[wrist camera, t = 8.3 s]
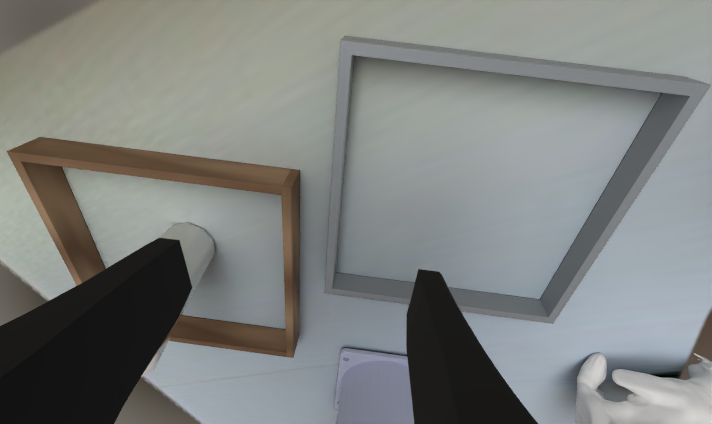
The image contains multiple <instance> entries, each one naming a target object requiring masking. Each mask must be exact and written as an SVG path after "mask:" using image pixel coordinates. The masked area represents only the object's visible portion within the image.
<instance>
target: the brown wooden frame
mask: <svg viewBox="0 0 712 424" xmlns="http://www.w3.org/2000/svg"><path fill="white" fill-rule="evenodd" d="M7 153H8V155H9V156H10V158H11V160H12V162H13V164H14V166H15V168H16V170H17V172H18V174H19V176H20V178H21V180H22V181H23V183H24V185H25V187H26V189H27V191H28V193H29V195H30V197H31V199H32V201H33V203H34V204H35V206H36V208H37V210H38V212H39V214H40V216H41V218H42V220H43V222H44V224H45V226H46V227H47V229H48V231H49V233H50V235H51V237H52V239H53V241H54V243H55V245H56V247H57V249H58V250H59V252H60V254H61V256H62V258H63V260H64V262H65V264H66V266H67V268H68V270H69V272H70V273H71V275H72V277H73V279H74V281H75V283H76V285H77V286H78V285H79V284H81V283H83V282H85V281H86V280H88V279H90V278H91V277H93V276H95V275H97V274H98V273H100V272H102V271H103V270H105V267H104V264H103V262H102V260H101V258H100V255H99V253H98V251H97V248H96V246H95V244H94V242H93V239H92V237H91V235H90V232H89V230H88V228H87V226H86V223H85V221H84V219H83V216H82V214H81V212H80V209H79V207H78V205H77V203H76V200H75V198H74V196H73V193H72V191H71V189H70V187H69V184H68V182H67V180H66V177H65V175H64V173H63V171H62V168H61V167H69V168H77V169H84V170H92V171H100V172H108V173H115V174H123V175H131V176H139V177H146V178H154V179H162V180H170V181H177V182H185V183H193V184H201V185H208V186H216V187H224V188H232V189H240V190H247V191H255V192H263V193H271V194H278V195H282V218H283V251H284V283H285V315H286V330H285V329H277V328H270V327H263V326H255V325H248V324H240V323H233V322H226V321H218V320H211V319H204V318H196V317H189V316H182V315H181V317H180V319H179V321H178V323H177V325H176V327H175V329H174V331H173V333H172V335H171V337H170V339H169V341H175V342H182V343H189V344H197V345H204V346H211V347H218V348H226V349H233V350H240V351H247V352H255V353H262V354H269V355H277V356H284V357H291V358H293V357H294V353H295V349H296V346H297V342H298V338H299V258H300V170H293V169H285V168H278V167H270V166H262V165H254V164H246V163H238V162H231V161H223V160H215V159H207V158H199V157H191V156H184V155H176V154H168V153H160V152H152V151H144V150H136V149H129V148H121V147H113V146H105V145H97V144H89V143H82V142H74V141H66V140H58V139H50V138H42V137H39V138H37V139H34V140H32V141H30V142H27V143H25V144H23V145H20V146H18V147H16V148H13V149H11V150H9V151H7Z"/></svg>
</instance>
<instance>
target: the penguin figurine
mask: <svg viewBox="0 0 712 424" xmlns="http://www.w3.org/2000/svg"><path fill="white" fill-rule="evenodd" d="M695 355H696V354H695ZM696 356H698V357H699V358H701V359H702V362H699V363H698V364H691V365H689V366H688V373H689V375H690V377H691V378H690V379H687V380H681V379H676V378H661V377H657V376H653V375H650V374H645V373H640V372H635V371H630V370H624V369H617V370H614V371H613V372H612V378H613V380H614V382H615V383H616V384H618V385H620V386H623V387H625V388H627V389H629V390H630V391H632V392H634V393H632V394H629V395H628V396H627V399H626V401H622V402H613V401H609V400H605V395H604V393H603V392H602V390H600V389H599V388H597V387H598V386H599V385H600V384H601V383H602V382H603V381H604V380H605V378H606V374H607V364H606V359H605V357H604V356H603V355H602V354H600V353H594V354H592V355H591V356H589V358H588V359H587V360H586V361H585V363H584V364H583V365H582V367H581V369H580V372H579V374H578V377H577V400H576V409H575V412H576V424H712V362H710V361H709V360H706V359H707V358H706V359H704V358H703V357H701V356H699V355H696Z"/></svg>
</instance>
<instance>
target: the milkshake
mask: <svg viewBox="0 0 712 424" xmlns="http://www.w3.org/2000/svg"><path fill="white" fill-rule="evenodd" d="M159 238H167V239H175V240H180V244H181V247H182V251H183V255H184V258H185V262H186V266H187V270H188V273H189V277H190V281H191V284H192V290H191V292H190V294H189V297H188V299H187V301H186V303H185V305H184V307H183V309H182V311H181V314H180V316H179V318H178V319H177V321H176V323H175V324H174V326H173V327H172V329H171V331H170V332H169V334H168V335H167V337H166V339H165V340H164V342H163V343H162V345H161V346H160V348H159V350H158V351H157V353H156V354H155V356H154V357H153V359H152V360H151V362H150V364H149V365H148V367H147V368H146V370H145V371H144V373H143V374H142V376H144V375H146V374H148V373H149V372H151V371H152V370H153V369H154V368H155V367H156V365H157V364H158V361H159V359H160V357H161V355H162V353H163V351H164V349H165V347H166V345H167V343H168V341H169V339H170V337H171V335H172V333H173V331H174V329H175V327H176V325H177V323H178V321H179V319H180V317H181V315H182V313H183V311H184V309H185V307H186V305H187V304H188V302H189V300H190V298H191V296H192V294H193V292H194V291H195V289H196V287H197V285H198V283H199V281H200V279H201V277H202V276H203V274H204V272H205V270H206V268H207V266H208V264H209V263H210V261H211V259H212V257H213V255H214V253H215V247H214V240H213V239H212V238H211V237H210V236H209V234H208V233H207V232H206V231H205V230H204V229H203V228H200V227H197V226H195V225H192V224H190V223H181V224H174V225H172V226H171V227H170V228H169V229H168V230H167V231H166V232H164V233H163V234H162V235H161V236H160V237H159ZM142 376H141V377H142Z"/></svg>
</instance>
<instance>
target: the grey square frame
mask: <svg viewBox="0 0 712 424" xmlns="http://www.w3.org/2000/svg"><path fill="white" fill-rule="evenodd" d="M354 55H355V56H364V57H372V58H380V59H388V60H397V61H405V62H413V63H421V64H430V65H438V66H446V67H454V68H463V69H471V70H479V71H487V72H496V73H504V74H512V75H520V76H529V77H537V78H545V79H553V80H562V81H570V82H578V83H587V84H595V85H603V86H611V87H620V88H628V89H636V90H644V91H653V92H661V93H662V94H661V96H660V98H659V99H658V101H657V103H656V104H655V106H654V108H653V110H652V111H651V113H650V115H649V116H648V118H647V120H646V121H645V123H644V125H643V126H642V128H641V130H640V131H639V133H638V135H637V137H636V138H635V140H634V142H633V143H632V145H631V147H630V148H629V150H628V152H627V153H626V155H625V157H624V159H623V160H622V162H621V164H620V165H619V167H618V169H617V170H616V172H615V174H614V175H613V177H612V179H611V180H610V182H609V184H608V186H607V187H606V189H605V191H604V192H603V194H602V196H601V197H600V199H599V201H598V202H597V204H596V206H595V208H594V209H593V211H592V213H591V214H590V216H589V218H588V219H587V221H586V223H585V224H584V226H583V228H582V230H581V231H580V233H579V235H578V236H577V238H576V240H575V241H574V243H573V245H572V246H571V248H570V250H569V251H568V253H567V255H566V257H565V258H564V260H563V262H562V263H561V265H560V267H559V268H558V270H557V272H556V273H555V275H554V277H553V279H552V280H551V282H550V284H549V285H548V287H547V289H546V290H545V292H544V294H543V295H542V297H541V299H540V300H539V299H531V298H524V297H516V296H509V295H501V294H494V293H486V292H478V291H471V290H463V289H456V288H449V290H450V292H451V294H452V296H453V298H454V300H455V302H456V304H457V305H458V307H459V309H460V311H462V312H470V313H477V314H485V315H492V316H500V317H507V318H515V319H522V320H530V321H537V322H544V323H552V324H553V323H554V321H555V320H556V318H557V317H558V315H559V314H560V312H561V311H562V309H563V308H564V306H565V305H566V303H567V302H568V300H569V299H570V297H571V296H572V294H573V293H574V291H575V290H576V288H577V287H578V285H579V284H580V282H581V281H582V279H583V278H584V276H585V275H586V273H587V272H588V270H589V269H590V267H591V266H592V264H593V263H594V261H595V260H596V258H597V257H598V255H599V253H600V252H601V250H602V249H603V247H604V246H605V244H606V243H607V241H608V240H609V238H610V237H611V235H612V234H613V232H614V231H615V229H616V228H617V226H618V225H619V223H620V222H621V220H622V219H623V217H624V216H625V214H626V213H627V211H628V210H629V208H630V207H631V205H632V204H633V202H634V201H635V199H636V198H637V196H638V195H639V193H640V192H641V190H642V189H643V187H644V186H645V184H646V183H647V181H648V180H649V178H650V176H651V175H652V173H653V172H654V170H655V169H656V167H657V166H658V164H659V163H660V161H661V160H662V158H663V157H664V155H665V154H666V152H667V151H668V149H669V148H670V146H671V145H672V143H673V142H674V140H675V139H676V137H677V136H678V134H679V133H680V131H681V130H682V128H683V127H684V125H685V124H686V122H687V121H688V119H689V118H690V116H691V115H692V113H693V112H694V110H695V109H696V107H697V106H698V104H699V103H700V101H701V100H702V98H703V96H704V95H705V93H706V92H707V90H708V89H709V87H710V86H711V85H710V84H706V83H703V82H700V81H697V80H693V79H690V78H687V77H683V76H674V75H666V74H658V73H649V72H641V71H633V70H625V69H616V68H608V67H600V66H591V65H583V64H575V63H566V62H558V61H550V60H541V59H533V58H525V57H516V56H508V55H500V54H491V53H483V52H475V51H466V50H458V49H450V48H441V47H433V46H425V45H417V44H408V43H400V42H392V41H383V40H375V39H367V38H358V37H350V36H344V37H343V38H342V39H341V42H340V58H339V73H338V89H337V104H336V120H335V136H334V151H333V167H332V182H331V198H330V213H329V229H328V245H327V260H326V276H325V291H324V293H328V294H335V295H343V296H350V297H358V298H365V299H373V300H380V301H388V302H395V303H402V304H410V300H411V297H412V293H413V289H414V285H415V283H411V282H403V281H396V280H388V279H380V278H373V277H365V276H358V275H350V274H343V273H336V261H337V250H338V238H339V227H340V215H341V204H342V192H343V180H344V169H345V157H346V146H347V134H348V123H349V111H350V100H351V88H352V77H353V65H354Z"/></svg>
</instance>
